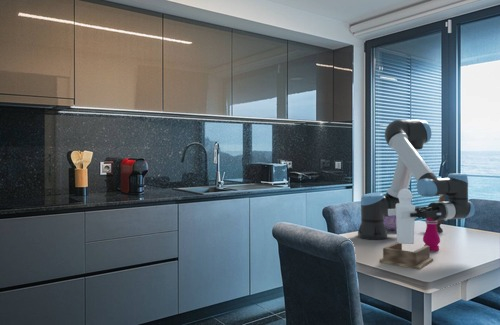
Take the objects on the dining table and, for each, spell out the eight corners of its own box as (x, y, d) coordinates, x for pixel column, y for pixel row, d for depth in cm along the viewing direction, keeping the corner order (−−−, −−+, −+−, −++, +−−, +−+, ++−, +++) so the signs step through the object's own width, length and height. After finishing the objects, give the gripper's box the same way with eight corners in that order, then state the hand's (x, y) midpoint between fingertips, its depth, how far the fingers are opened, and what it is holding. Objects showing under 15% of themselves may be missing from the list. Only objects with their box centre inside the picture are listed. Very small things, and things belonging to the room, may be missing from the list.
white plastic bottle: (415, 244, 157) (415, 189, 157) (398, 243, 158) (397, 189, 158) (412, 241, 164) (411, 188, 163) (395, 240, 165) (395, 188, 165)
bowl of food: (406, 233, 219) (405, 212, 219) (371, 229, 232) (371, 209, 232) (417, 228, 235) (417, 208, 234) (384, 224, 248) (384, 206, 247)
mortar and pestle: (430, 228, 233) (430, 195, 232) (446, 230, 227) (446, 195, 227) (426, 231, 223) (426, 196, 223) (442, 233, 218) (442, 197, 218)
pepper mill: (433, 252, 178) (433, 207, 177) (419, 248, 184) (419, 206, 184) (443, 250, 181) (443, 206, 181) (429, 246, 187) (429, 205, 187)
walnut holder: (379, 262, 162) (379, 247, 162) (395, 254, 174) (395, 241, 174) (419, 269, 151) (419, 253, 151) (433, 260, 163) (433, 246, 163)
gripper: (460, 223, 157) (413, 227, 150) (422, 216, 176) (379, 219, 169) (460, 204, 156) (413, 207, 149) (422, 199, 176) (379, 201, 169)
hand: (395, 213), depth 159 cm, fingers closed on white plastic bottle, 8 cm apart
